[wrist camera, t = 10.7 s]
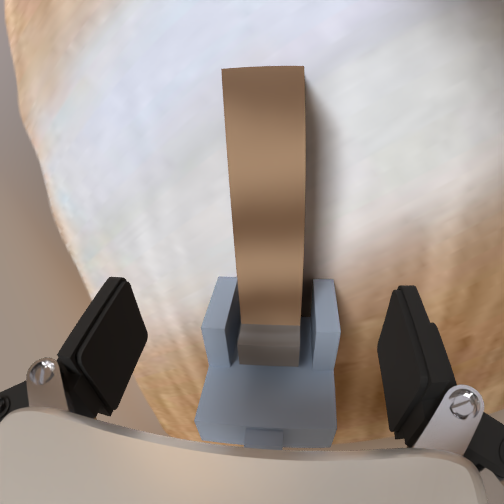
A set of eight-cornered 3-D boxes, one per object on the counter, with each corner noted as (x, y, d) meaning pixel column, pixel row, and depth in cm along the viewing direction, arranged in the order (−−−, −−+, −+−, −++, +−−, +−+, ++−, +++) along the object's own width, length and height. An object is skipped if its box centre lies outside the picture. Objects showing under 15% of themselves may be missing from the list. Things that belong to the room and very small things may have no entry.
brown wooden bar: (237, 71, 18) (212, 67, 12) (300, 69, 18) (305, 63, 12) (251, 301, 27) (239, 364, 21) (299, 302, 27) (298, 366, 21)
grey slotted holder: (218, 276, 26) (176, 402, 16) (333, 279, 25) (349, 412, 15) (226, 338, 30) (198, 453, 19) (325, 341, 29) (330, 461, 18)
